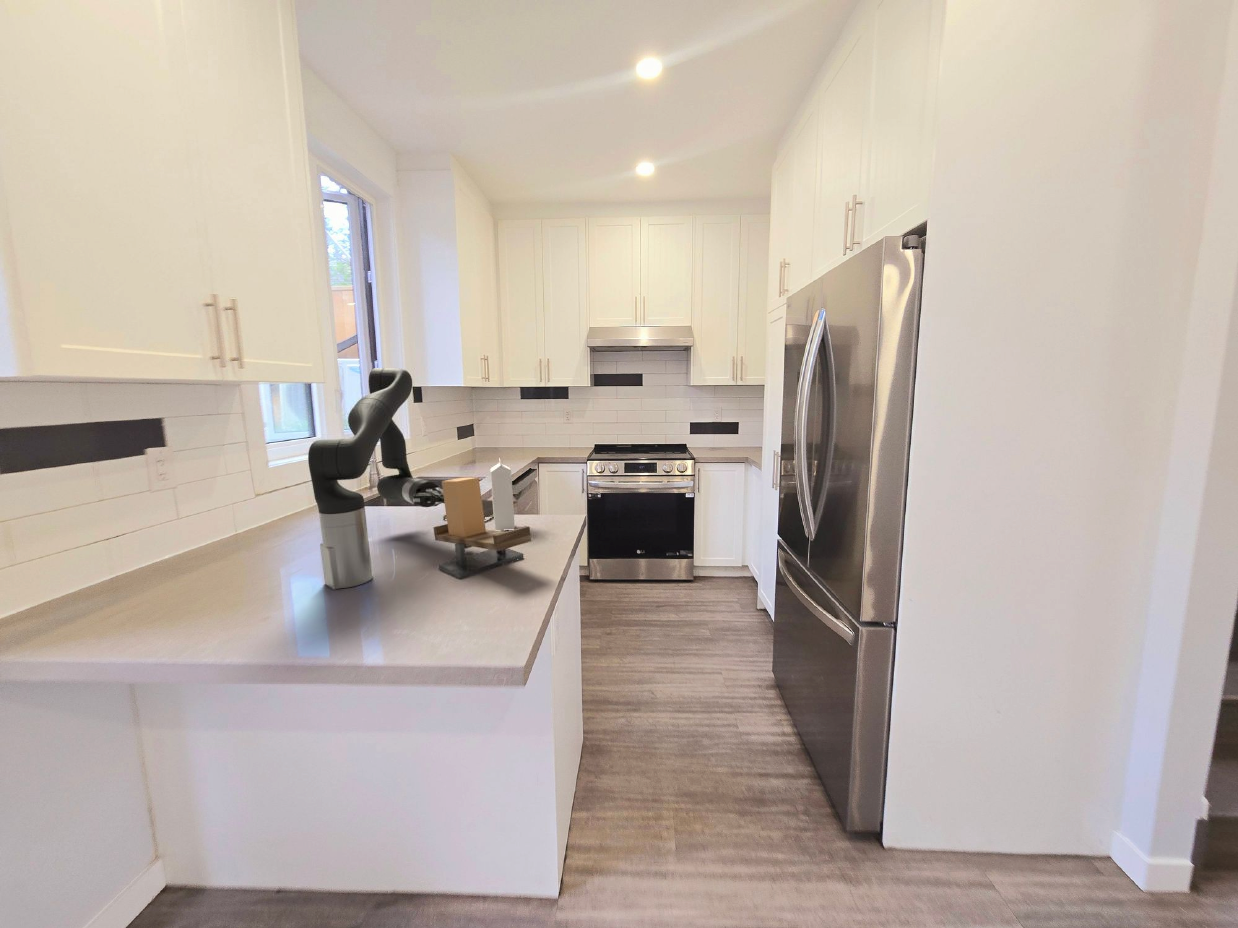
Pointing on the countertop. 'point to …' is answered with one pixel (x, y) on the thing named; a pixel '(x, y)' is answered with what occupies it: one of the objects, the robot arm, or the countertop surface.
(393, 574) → the countertop surface
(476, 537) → the beam
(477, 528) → the block
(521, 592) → the countertop surface
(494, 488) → the milk
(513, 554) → the pivot stand
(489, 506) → the hardcover book
